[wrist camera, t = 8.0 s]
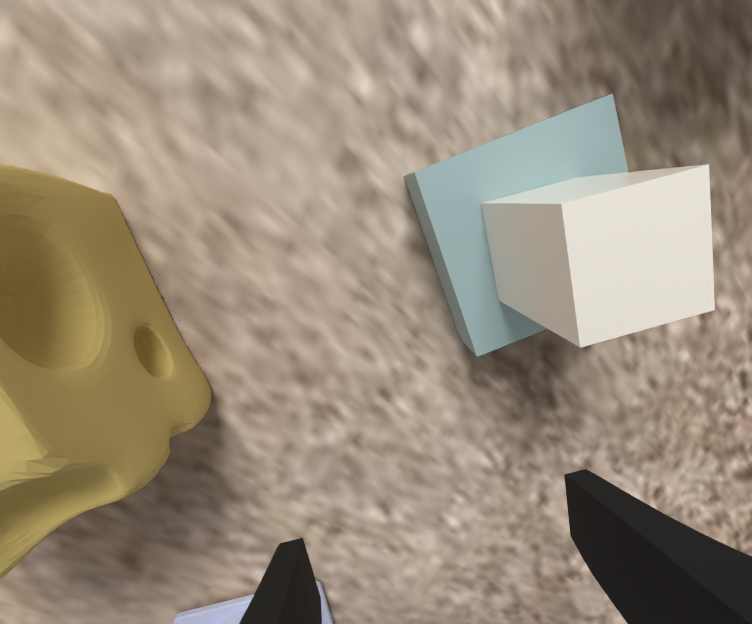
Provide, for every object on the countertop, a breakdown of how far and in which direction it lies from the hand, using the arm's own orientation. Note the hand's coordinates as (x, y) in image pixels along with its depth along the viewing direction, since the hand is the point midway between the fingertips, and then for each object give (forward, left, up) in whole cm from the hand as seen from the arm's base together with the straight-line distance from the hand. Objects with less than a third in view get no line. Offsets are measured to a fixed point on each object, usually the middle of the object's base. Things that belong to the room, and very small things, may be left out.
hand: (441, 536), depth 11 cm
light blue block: (+6, -7, -10) cm, 14 cm away
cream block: (+6, -7, -7) cm, 12 cm away
